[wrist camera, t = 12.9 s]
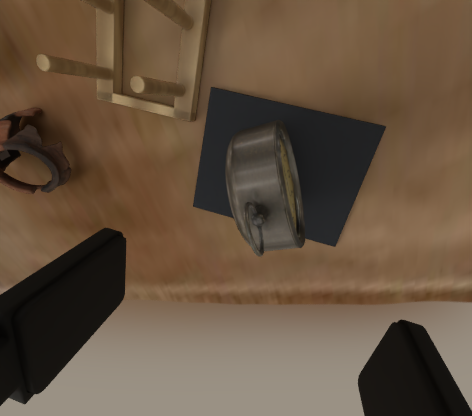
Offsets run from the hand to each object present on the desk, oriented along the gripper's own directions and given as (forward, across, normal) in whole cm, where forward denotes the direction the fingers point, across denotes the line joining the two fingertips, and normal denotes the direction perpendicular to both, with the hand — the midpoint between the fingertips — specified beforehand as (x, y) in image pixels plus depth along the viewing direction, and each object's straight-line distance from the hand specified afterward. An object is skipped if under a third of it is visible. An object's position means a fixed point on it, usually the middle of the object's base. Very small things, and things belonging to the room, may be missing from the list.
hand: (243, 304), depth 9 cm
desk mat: (+22, 0, +1) cm, 22 cm away
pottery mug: (+22, +31, +6) cm, 39 cm away
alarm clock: (+22, +1, +1) cm, 22 cm away
